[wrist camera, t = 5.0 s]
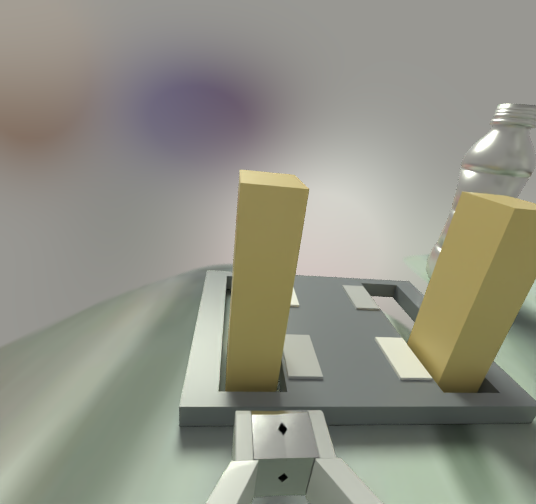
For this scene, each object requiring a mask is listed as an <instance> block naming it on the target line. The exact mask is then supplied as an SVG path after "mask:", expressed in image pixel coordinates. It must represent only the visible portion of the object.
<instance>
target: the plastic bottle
mask: <svg viewBox="0 0 536 504" xmlns="http://www.w3.org/2000/svg"><path fill="white" fill-rule="evenodd" d="M490 125H492V128H491V130H490V132H488V133H487V134H486V135H485V136H483V137H482V138H481V139H480V140H478V141H477V142H476V143H475V144H474V145H473V146H472V147H471V148H470V149H469V150H468V151H467V153H466V154H465V156H464V157H463V161H462V164H461V166H462V167H461V169H460V174H459V179H458V184H457V189H456V193H455V197H454V200H453V203H452V205H453V206H452V209H451V210H450V214H449V217H448V219H447V221H446V224H445V226H444V228H443V230H442V232H441V235H440V237H439V239H438V242H437V243H436V244H435V245H434V247H433V249H432V251H431V253H430V254H429V256H428V259H427V266H426V271H427V274H428V277H429V278H430V279H431V276H432V273H433V270H434V268H435V265H436V262H437V259H438V257H439V254H440V251H441V248H442V245H443V243H444V240H445V237H446V234H447V232H448V229H449V226H450V223H451V220H452V218H453V215H454V212H455V209H456V207H457V204H458V201H459V198H460V195H461V193H462V191H464V192H474V193H484V194H494V195H504V196H510V197H513V198H517V197H518V196H519V194H520V192H521V191H522V189H523V188H524V186H525V184H526V182H527V181H528V178H529V177H530V176H531V175H532V173H533V171H534V169H535V165H536V155H535V150H534V147H533V144H532V141H531V139H530V136H529V134H530V130H531V128H535V127H536V106H535V105H525V104H501V105H498V107H497V108H496V111H495V114H494V116H493V119H492V120H491V121H490Z"/></svg>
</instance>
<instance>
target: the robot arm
mask: <svg viewBox="0 0 536 504" xmlns="http://www.w3.org/2000/svg"><path fill="white" fill-rule="evenodd" d="M279 495H280V496H287V495H306V498H307V500H308V501H309V503H310V504H384V503H383V502H382V501H381V500H380V499H379V498H378V497H377V496H376V495H375V494H374V493H373V492H372V491H371V489H370V488H369V487H368V486H367V485H366V484H365V483H364V482H363V481H362V480H361V479H360V478H359V477H358V476H357V474H356V473H355V472H354V471H353V470H352V469H351V468H350V467H349V466H348V465H347V464H346V463H345V462H344V460H343V459H342V458H337V457H336V454H335V451H334V447H333V444H332V441H331V437H330V434H329V431H328V427H327V424H326V421H325V417H324V414H323V412H322V411H321V410H307V411H306V410H284V411H235V420H234V431H233V446H232V461H230V463H229V465H228V466H227V468H226V470H225V471H224V473H223V475H222V476H221V478H220V480H219V481H218V483H217V485H216V486H215V488H214V490H213V492H212V493H211V495H210V497H209V498H208V500H207V502H206V503H205V504H252V501H253V498H255V497H267V496H279Z"/></svg>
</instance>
